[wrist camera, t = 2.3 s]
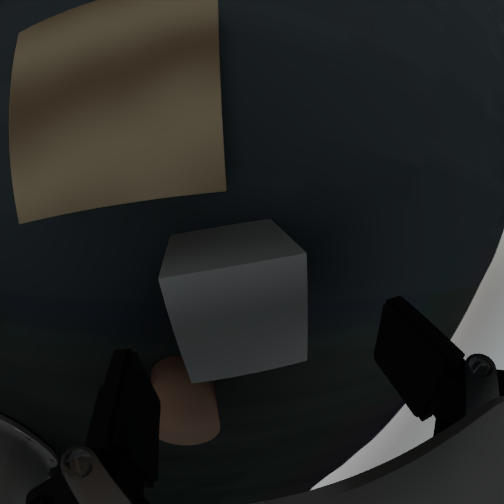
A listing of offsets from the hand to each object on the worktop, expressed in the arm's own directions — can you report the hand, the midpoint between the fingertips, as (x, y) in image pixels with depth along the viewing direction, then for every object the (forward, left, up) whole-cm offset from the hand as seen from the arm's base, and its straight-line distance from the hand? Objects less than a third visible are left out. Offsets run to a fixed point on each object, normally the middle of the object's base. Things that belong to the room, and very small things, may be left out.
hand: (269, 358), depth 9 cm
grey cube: (0, +1, -9) cm, 9 cm away
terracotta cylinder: (-9, +6, -9) cm, 14 cm away
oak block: (+11, +5, -9) cm, 15 cm away
